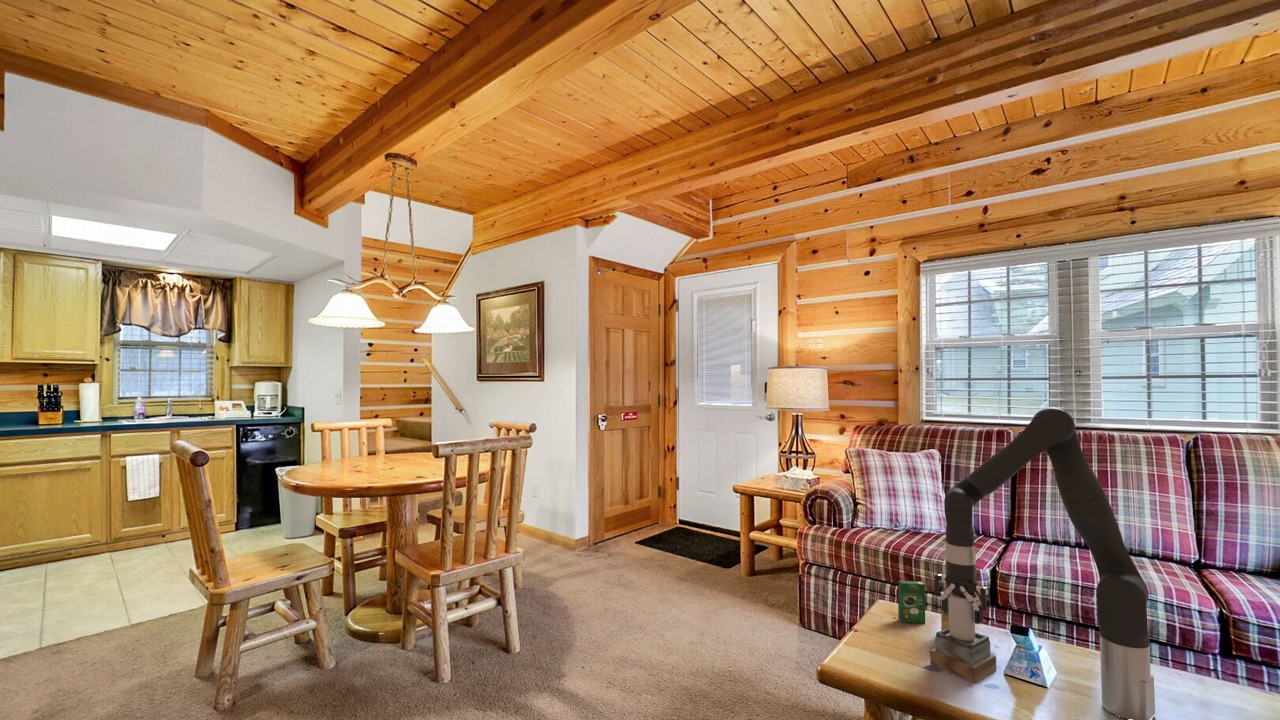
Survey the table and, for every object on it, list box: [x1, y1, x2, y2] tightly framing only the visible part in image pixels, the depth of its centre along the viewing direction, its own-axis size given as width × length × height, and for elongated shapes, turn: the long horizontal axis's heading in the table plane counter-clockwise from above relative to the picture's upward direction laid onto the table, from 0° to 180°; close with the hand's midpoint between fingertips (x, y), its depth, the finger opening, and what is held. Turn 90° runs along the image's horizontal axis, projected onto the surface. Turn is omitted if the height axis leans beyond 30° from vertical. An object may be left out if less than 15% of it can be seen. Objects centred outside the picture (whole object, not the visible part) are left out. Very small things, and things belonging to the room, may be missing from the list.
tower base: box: [929, 627, 997, 684], centre depth 158 cm, size 12×12×9 cm
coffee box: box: [897, 580, 926, 624], centre depth 188 cm, size 8×3×13 cm, turn 85°
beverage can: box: [948, 593, 976, 642], centre depth 158 cm, size 6×6×12 cm
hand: (961, 617), depth 158 cm, fingers open, 8 cm apart
